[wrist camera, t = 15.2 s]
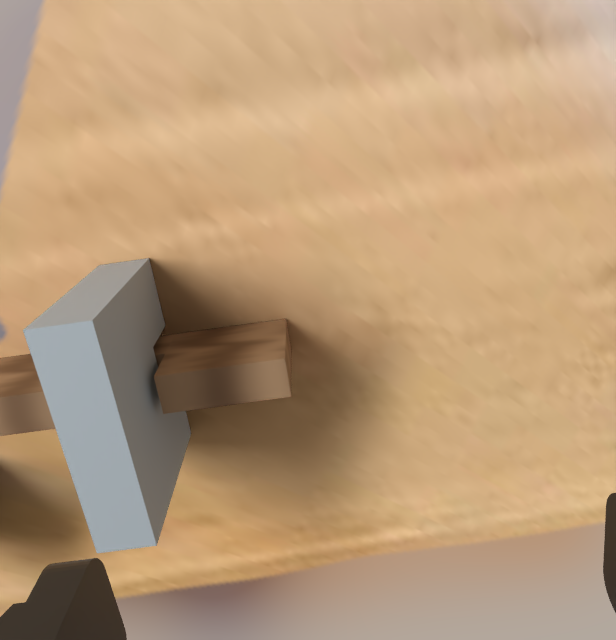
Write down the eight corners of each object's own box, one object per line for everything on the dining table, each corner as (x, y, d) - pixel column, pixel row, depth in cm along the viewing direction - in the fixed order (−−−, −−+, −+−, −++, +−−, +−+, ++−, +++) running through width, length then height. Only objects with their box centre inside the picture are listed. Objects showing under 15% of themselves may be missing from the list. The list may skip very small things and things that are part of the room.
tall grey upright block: (146, 439, 52) (97, 553, 39) (99, 265, 47) (23, 330, 33) (191, 433, 52) (156, 545, 39) (149, 258, 46) (92, 320, 33)
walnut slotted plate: (11, 390, 50) (-38, 441, 43) (0, 358, 49) (-53, 404, 42) (291, 351, 50) (291, 396, 42) (286, 318, 48) (284, 358, 41)
